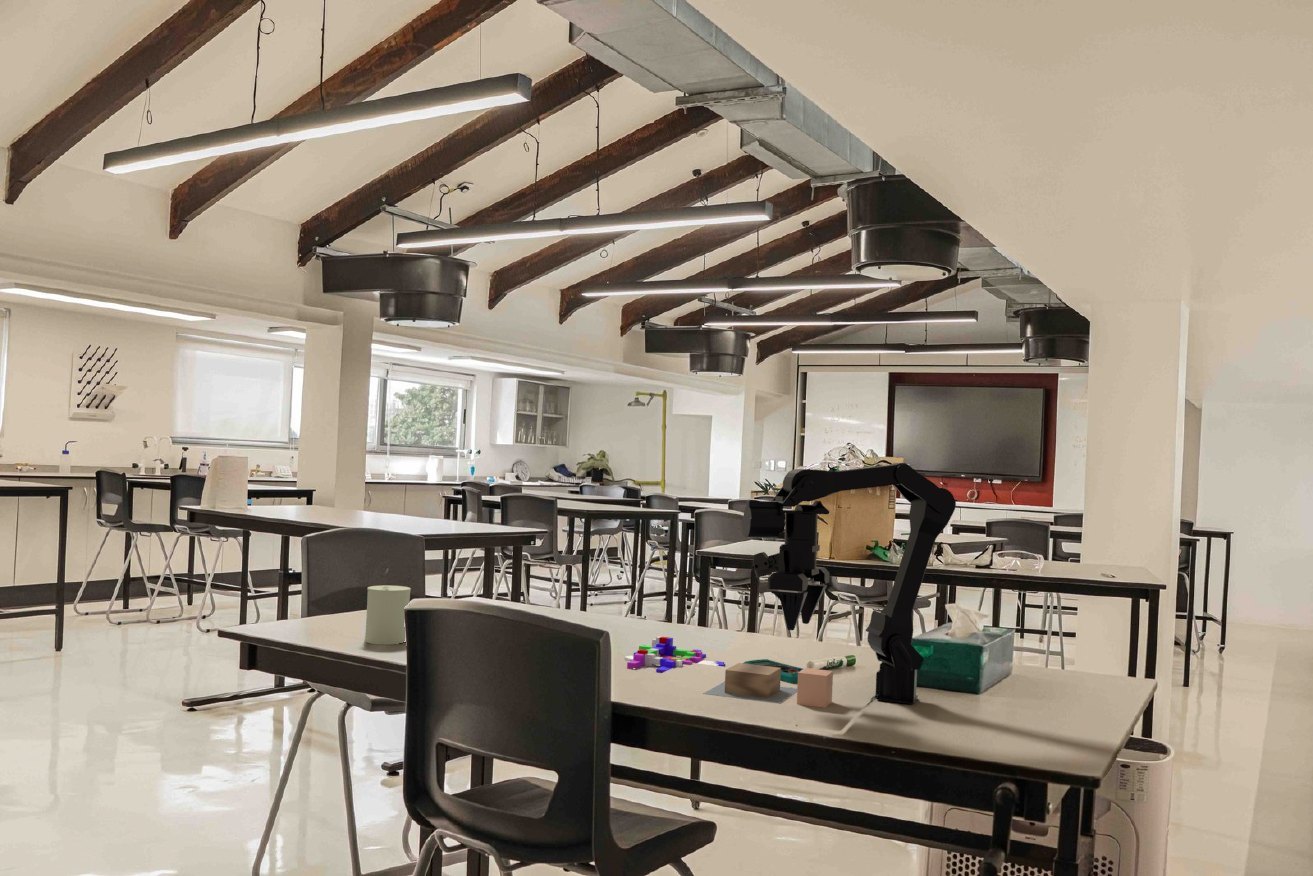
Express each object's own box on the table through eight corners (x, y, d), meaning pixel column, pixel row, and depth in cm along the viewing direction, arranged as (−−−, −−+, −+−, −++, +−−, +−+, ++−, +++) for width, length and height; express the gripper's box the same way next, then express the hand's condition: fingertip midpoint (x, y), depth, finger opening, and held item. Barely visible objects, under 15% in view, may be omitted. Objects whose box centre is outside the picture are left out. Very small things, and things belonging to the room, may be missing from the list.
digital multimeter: (793, 689, 194) (793, 674, 194) (739, 675, 206) (739, 660, 206) (819, 686, 199) (820, 671, 199) (765, 672, 210) (766, 657, 210)
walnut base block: (779, 690, 188) (780, 667, 188) (768, 698, 180) (769, 675, 181) (737, 684, 191) (738, 663, 191) (724, 692, 183) (725, 669, 184)
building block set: (701, 680, 199) (702, 657, 199) (605, 668, 207) (606, 645, 207) (741, 661, 222) (742, 640, 222) (653, 650, 230) (654, 630, 230)
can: (358, 643, 219) (361, 586, 219) (371, 636, 228) (374, 582, 228) (401, 646, 218) (404, 589, 219) (413, 639, 228) (416, 584, 228)
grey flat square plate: (799, 692, 189) (800, 689, 189) (780, 707, 176) (780, 703, 176) (727, 683, 195) (727, 680, 195) (702, 697, 182) (703, 693, 182)
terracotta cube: (831, 705, 180) (833, 671, 180) (825, 711, 175) (826, 676, 175) (803, 702, 182) (804, 667, 182) (796, 707, 177) (798, 672, 177)
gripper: (773, 534, 196) (771, 616, 196) (740, 539, 179) (737, 629, 179) (831, 537, 192) (828, 622, 191) (802, 542, 175) (800, 635, 174)
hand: (798, 626), depth 184 cm, fingers open, 9 cm apart
